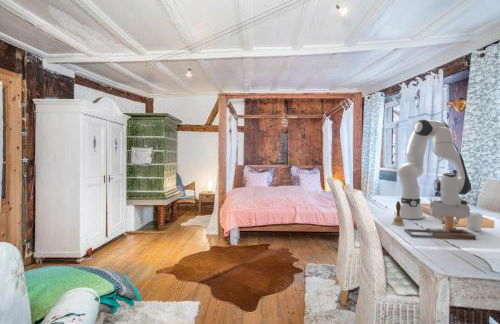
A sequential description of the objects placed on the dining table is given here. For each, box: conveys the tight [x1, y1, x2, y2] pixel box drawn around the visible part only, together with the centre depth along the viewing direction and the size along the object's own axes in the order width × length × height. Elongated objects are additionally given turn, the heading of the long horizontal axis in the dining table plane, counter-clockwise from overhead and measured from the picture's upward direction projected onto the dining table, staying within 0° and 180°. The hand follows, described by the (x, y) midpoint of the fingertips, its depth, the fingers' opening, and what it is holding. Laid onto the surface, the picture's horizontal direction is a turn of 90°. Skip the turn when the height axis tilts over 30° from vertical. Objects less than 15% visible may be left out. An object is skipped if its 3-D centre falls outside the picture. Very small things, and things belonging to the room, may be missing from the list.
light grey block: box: [438, 228, 450, 233], centre depth 159 cm, size 4×4×3 cm
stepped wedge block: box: [442, 217, 457, 229], centre depth 169 cm, size 5×5×10 cm
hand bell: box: [390, 200, 405, 226], centre depth 183 cm, size 8×8×16 cm
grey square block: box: [429, 227, 441, 235], centre depth 159 cm, size 4×4×3 cm
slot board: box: [426, 227, 477, 241], centre depth 158 cm, size 14×19×3 cm
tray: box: [403, 228, 437, 239], centre depth 161 cm, size 12×12×2 cm
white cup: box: [465, 211, 483, 232], centre depth 172 cm, size 8×8×10 cm
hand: (449, 224), depth 169 cm, fingers open, 5 cm apart
